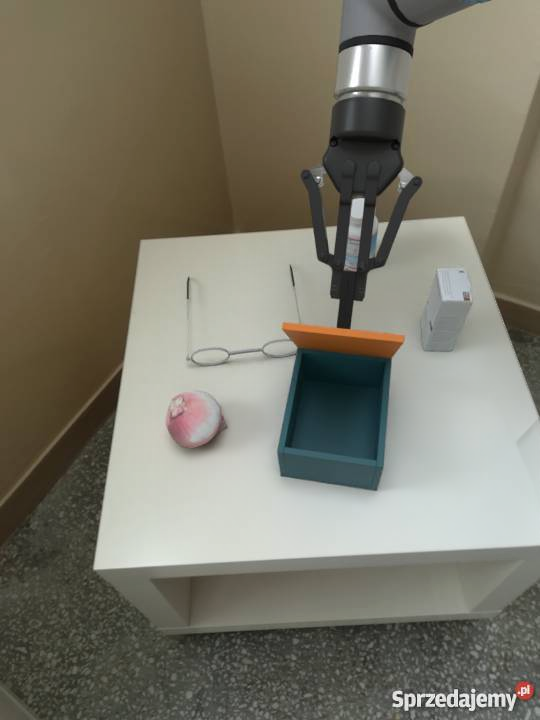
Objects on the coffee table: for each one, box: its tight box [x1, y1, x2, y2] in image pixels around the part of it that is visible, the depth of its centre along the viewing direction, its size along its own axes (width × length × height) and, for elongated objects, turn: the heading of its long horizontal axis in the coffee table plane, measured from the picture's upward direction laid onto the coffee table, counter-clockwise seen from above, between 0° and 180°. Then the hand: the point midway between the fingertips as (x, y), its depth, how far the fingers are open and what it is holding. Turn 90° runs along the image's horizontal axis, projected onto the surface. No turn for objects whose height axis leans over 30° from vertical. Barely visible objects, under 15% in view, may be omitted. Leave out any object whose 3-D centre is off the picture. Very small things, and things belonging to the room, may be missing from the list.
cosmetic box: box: [420, 267, 474, 352], centre depth 76 cm, size 6×4×12 cm
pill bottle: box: [344, 197, 379, 271], centre depth 86 cm, size 6×6×11 cm
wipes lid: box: [281, 321, 406, 359], centre depth 63 cm, size 16×13×1 cm
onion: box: [165, 389, 228, 449], centre depth 72 cm, size 8×8×7 cm
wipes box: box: [276, 347, 393, 492], centre depth 70 cm, size 16×13×8 cm
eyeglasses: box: [185, 264, 302, 367], centre depth 84 cm, size 18×19×4 cm
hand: (343, 329), depth 60 cm, fingers closed
